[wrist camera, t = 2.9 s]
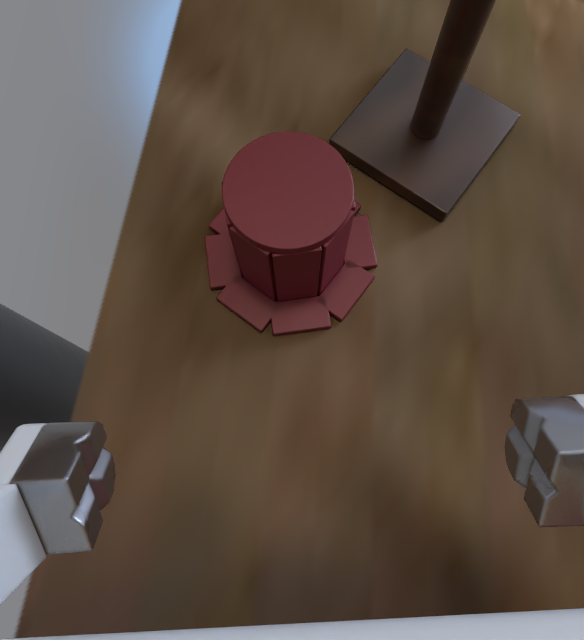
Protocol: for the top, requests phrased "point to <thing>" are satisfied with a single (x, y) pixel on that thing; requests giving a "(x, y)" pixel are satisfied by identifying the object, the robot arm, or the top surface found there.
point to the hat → (289, 236)
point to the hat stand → (429, 119)
